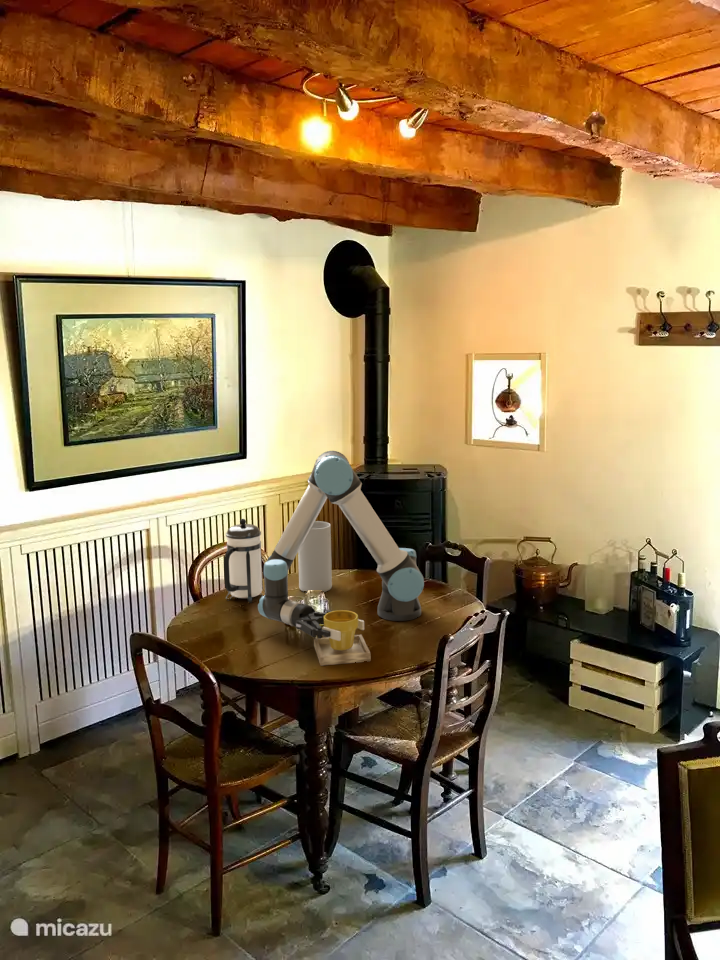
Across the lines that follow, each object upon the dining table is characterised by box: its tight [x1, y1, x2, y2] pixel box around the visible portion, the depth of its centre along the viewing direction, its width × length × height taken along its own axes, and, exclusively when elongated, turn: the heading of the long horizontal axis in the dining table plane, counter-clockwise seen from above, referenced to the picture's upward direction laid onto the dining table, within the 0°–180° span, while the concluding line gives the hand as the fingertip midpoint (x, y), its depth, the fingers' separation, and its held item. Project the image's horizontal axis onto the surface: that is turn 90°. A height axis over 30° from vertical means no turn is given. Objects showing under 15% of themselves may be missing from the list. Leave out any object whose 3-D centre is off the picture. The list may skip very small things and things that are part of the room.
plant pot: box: [323, 609, 359, 650], centre depth 234 cm, size 10×10×10 cm
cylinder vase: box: [297, 520, 333, 593], centre depth 295 cm, size 12×12×25 cm
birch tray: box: [313, 634, 372, 666], centre depth 235 cm, size 15×15×2 cm
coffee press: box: [223, 518, 265, 604], centre depth 284 cm, size 17×16×30 cm
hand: (351, 630), depth 231 cm, fingers closed on plant pot, 10 cm apart
